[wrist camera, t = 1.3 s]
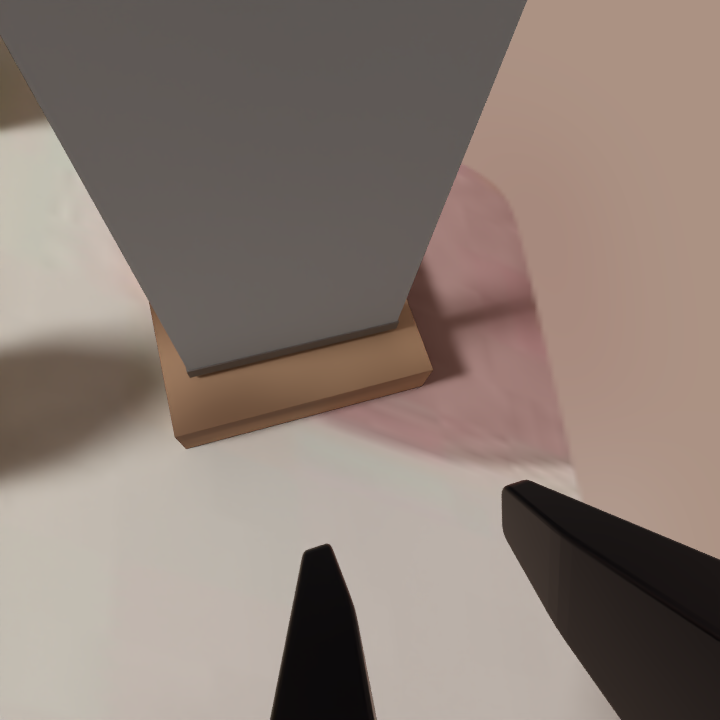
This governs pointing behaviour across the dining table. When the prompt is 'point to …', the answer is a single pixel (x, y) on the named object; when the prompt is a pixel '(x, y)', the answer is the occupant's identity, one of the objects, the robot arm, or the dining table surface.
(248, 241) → the grey rectangular panel
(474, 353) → the dining table surface
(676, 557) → the robot arm
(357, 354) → the ticket block
